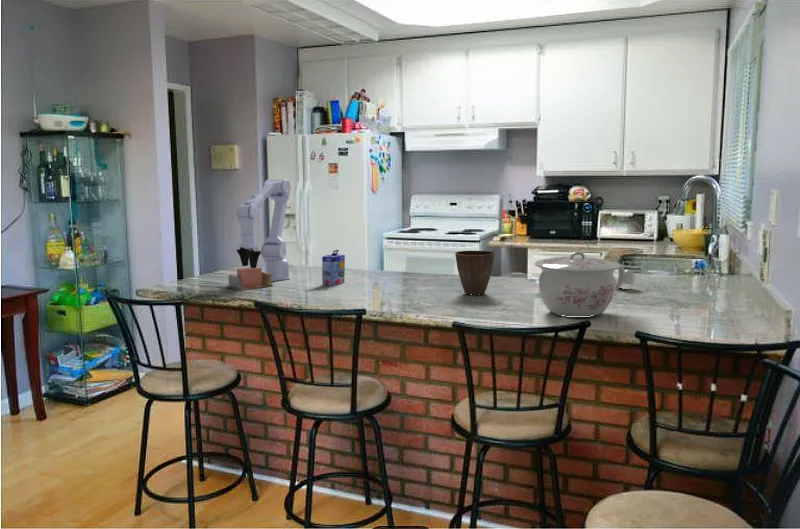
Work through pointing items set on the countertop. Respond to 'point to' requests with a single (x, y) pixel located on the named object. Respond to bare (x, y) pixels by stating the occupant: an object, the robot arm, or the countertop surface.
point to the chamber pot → (578, 284)
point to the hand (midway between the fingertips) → (249, 267)
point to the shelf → (265, 283)
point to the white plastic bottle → (628, 276)
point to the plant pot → (474, 270)
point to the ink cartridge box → (333, 269)
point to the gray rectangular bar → (235, 281)
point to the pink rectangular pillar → (250, 276)
